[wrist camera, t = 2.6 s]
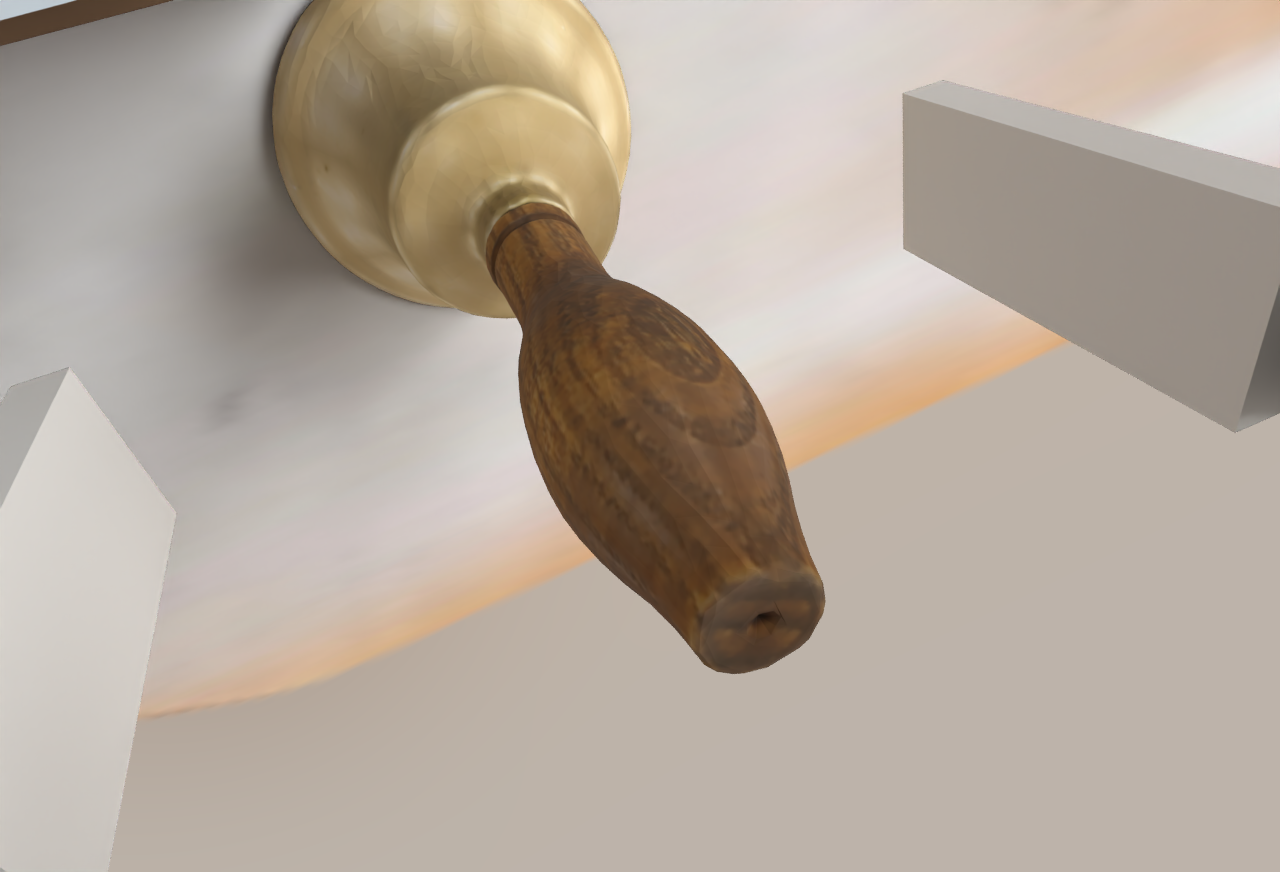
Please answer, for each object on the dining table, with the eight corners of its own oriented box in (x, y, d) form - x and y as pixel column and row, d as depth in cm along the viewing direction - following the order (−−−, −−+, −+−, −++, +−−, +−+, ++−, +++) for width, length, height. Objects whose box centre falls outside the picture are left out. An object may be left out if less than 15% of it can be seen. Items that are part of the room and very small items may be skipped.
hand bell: (668, 224, 22) (1146, 652, 10) (389, 356, 22) (518, 997, 9) (557, -125, 17) (1260, -168, 5) (187, 33, 16) (-156, 481, 4)
